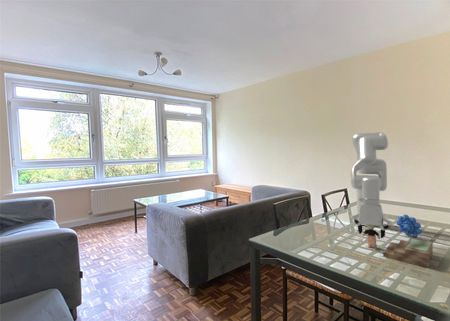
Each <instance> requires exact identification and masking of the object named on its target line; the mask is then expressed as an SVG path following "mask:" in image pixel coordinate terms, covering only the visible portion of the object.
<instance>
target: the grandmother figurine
mask: <svg viewBox="0 0 450 321" xmlns="http://www.w3.org/2000/svg"><path fill="white" fill-rule="evenodd" d="M366 227H367V228H368V229H365V230H364V231H363V232H362V233H361V234H362V236H363V237H365V235H367V238H366V239H367V240H366V241H367V242H366V243H367V248H369V249H371V248H372V249H375V250H376V249H378V248H379V247H378V245H377V239H378V240H380V239H381V235H380V234H379V233H378V231H377V230H375V227H376V226H374V225H367V226H366ZM376 237H377V238H376Z"/></svg>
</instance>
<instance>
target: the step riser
mask: <svg viewBox="0 0 450 321" xmlns="http://www.w3.org/2000/svg"><path fill="white" fill-rule="evenodd" d="M433 245H434V243H433V241H428V240H423V239H418V238H413V237H411V238H410V239H409V241H407V240H402V239H401V240H400V241H399V242H393V241H390V243H389V244H388V246H387V247H386V248H385V249H384V251H383V257H385V258H386V259H387V258H388V259H391V260H396V261H400V262H404V263H407V264H412V265H416V266H419V267H424V268H427V269H429V267H430V264H431V260H432V257H433V251H434V249H433V248H434V247H433Z"/></svg>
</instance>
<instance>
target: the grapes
mask: <svg viewBox="0 0 450 321" xmlns="http://www.w3.org/2000/svg"><path fill="white" fill-rule="evenodd" d="M395 223H396V225H397V226H399V227H398V229H399V231H400V232H402V233H404V234H405V236H407V237H411V236H412V238H413V237H414V238H418V235H421V234H422V232H423V231H422V230H421V228H422V225H421V223H420V222H418V221H417V219H416V218H415V217H413V216H409V215H408V214H403V215H398V216H397V220H396V222H395Z"/></svg>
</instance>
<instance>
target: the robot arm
mask: <svg viewBox="0 0 450 321" xmlns="http://www.w3.org/2000/svg"><path fill="white" fill-rule="evenodd" d="M352 144H353V147H354V149H355V150H356V158H357V159H356V162H355V163H354V164H353V165H352V167H351V170H350V185H351V187H352V189H355V190H356V213H357V214H355V215H354V214H353V215H352V214H351V215H350V218H351V219H352V220H353V221H354V223H355V224H356V226H357V231H358V234H359V235H361V234H363V226H362V225H365V226H364V227H367V225H374V226H375V227H379V228H380V239H383V238H384V237H385V236H386V230H387V229H388V228H390V226H391V225H392V221H391V220H389V219H387V217H384V214H383V207H382V204H380V203H381V202H380V199H381V198H380V192H384V191H386V190H387V186H388V173H387V172H388V171H387V163H386V161H385V160H384V159H381V158H378V157H377V151H384V150H387V149H388V146H389V140H388V137H387V135H386V134H385V133H384V132H382V131H381V132H379V131H378V132H377V131H375V132H363V133H355V134H354V135H353V136H352ZM377 158H378V159H377ZM357 173H359V174H357ZM360 174H362V175H360ZM384 223H386V225H385V224H384Z"/></svg>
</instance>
